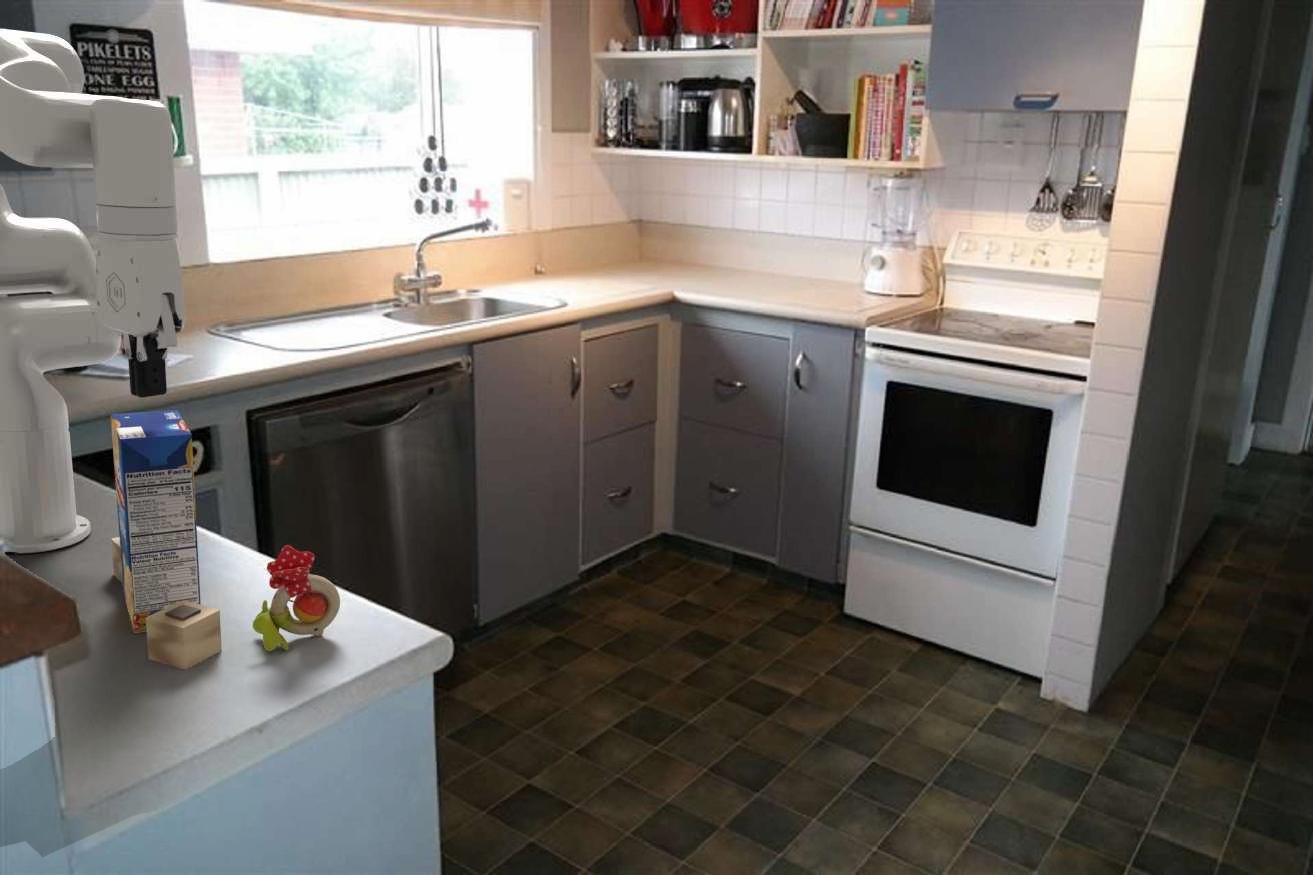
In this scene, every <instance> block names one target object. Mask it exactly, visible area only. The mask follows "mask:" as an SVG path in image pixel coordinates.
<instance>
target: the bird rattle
mask: <svg viewBox="0 0 1313 875" xmlns="http://www.w3.org/2000/svg"><path fill="white" fill-rule="evenodd" d="M315 557H316V556H315V554H314V553H313V552H311V551H299V550H297V549H295V548H294V547H292V546H291V545H289V544H286V545H284V547H282V549H281V551H280V553H279V555H278V557H277V559H275V560H272V561H269V562H268V563H267V566H266V571H267V573H268V574H269V575H270V578H269V582H268V584H269V587H270V588H271V589H274V590H276V591H275V593H274V594H273V597H272V600H271V604H270V608H268V601H267V599H264V600H263V602H262V604H261V605H262V606H261V611H260V612H259V613H258V614H257V615H256V617H254V618H255V619H254V620H253V621H252V629H253V630H254V632H256V633H258V634H261V635H262V642H263V647H264V649H265V650H266V651H268V652H270V651H271V652H272V651H273V650H275V649H276V648H277V647H278V645H279V646H280V647H281V648H282V649H283V650H284V651H286V652H288V651H289V649H290V645H289V643H288V642H287V640H286V639H285V637H284V636H283V635H282V634H281V633H280V629H281V630H283V631H285V632H288V633H289V634H293V635H298V636H306V635H307V636H308V635H311V636H315V637H321V636H322V635H323V634H324V630H325V629H326V628H327V627H329V626H330V625H331V624H332V623H333V621H334V620H335V618H336V617H337V615H338V613H339V610H340V606H341V599H340V598H341V597H340V594H339V591H338V589H337V587H336V586H335V585H334V584H333V583H332V582H331V580H328V579H327V578H326V577H323V576H320V575H316V574H310V572H311V569H312V567H313V563H314V561H315ZM293 598H295V599H294V600H292V599H293ZM289 602H290V603H292V612H293V614H294V616H295V618H294V617H293V615H292V614H291V611H290V608H289V606H288V605H287V604H288V603H289Z"/></svg>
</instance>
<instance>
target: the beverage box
mask: <svg viewBox="0 0 1313 875" xmlns="http://www.w3.org/2000/svg"><path fill="white" fill-rule="evenodd" d="M110 424H111V437H112V439H111V441H112V451H113V452H112V453H113V464H114V466H113V467H114V477H115V478H114V480H115V492H116V493H115V494H116V506H117V509H116V510H117V520H118V534H119V536H118V537H120V549H121V563H122V577H123V584H122V587H123V596H124V602H125V604H127V605H126V607H127V611H128V615H130V616H129V619H130V622H132V623H131V626H132V630H133V632H139V633H144V632H143V631H145V632H147V631H146V630H147V628H146V617H148V616H150V615H152V614H154V613H156V612H159V611H161V610H163V609H165V608H167V607H169V606H172V605H174V604H176V603H178V602H180V601H182V600H185V601H189V602H192V603H196V604H200V605H202V604H201V587H200V570H199V569H200V566H199V549H198V548H199V547H198V546H199V545H198V533H197V531H198V530H197V528H198V527H197V512H196V510H197V509H196V508H197V507H196V494H195V493H196V492H195V474H194V472H195V471H194V453H193V452H194V451H193V435H192V432H191V430H190V429H189V428H188V426H187V424H186V423H185V421H184V419H183V417H182V416H181V415H180V413H179V411H178V409H172V410H170V409H169V410H158V411H157V410H155V411H154V410H153V411H141V412H139V411H138V412H126V413H110Z"/></svg>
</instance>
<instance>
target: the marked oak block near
mask: <svg viewBox="0 0 1313 875" xmlns="http://www.w3.org/2000/svg"><path fill="white" fill-rule="evenodd" d="M146 628H147V631H146V638H147V639H146V640H147V641H146V642H147V655H148V660H151V661H154V660H155V661H154V662H157V661H158V663H160V662H162V663H161V664H164V663H166V664H165V665H167V666H170V665H171V667H174V666H175V668H177V667H179V668H178V669H180V668H181V670H183V669H187V670H189V669H190V668H192V667H194V666H196V665H197V663H198V662H200V661H201V662H203V661H205V660H207V659H209V658H210V656H211V657H212V655H213V654H214V655H216V654H218V653H220V652H222V632H221V631H222V630H221V611H220V609H218V608H214V607H211V606H207V605H203V604H201V605H200V604H196V603H192V602H189V601H185V600H182V601H180V602H178V603H176V604H174V605H172V606H169V607H167V608H165V609H163V610H161V611H159V612H156V613H154V614H152V615H150V616H148V617H146ZM214 655H213V656H214ZM208 657H209V658H208ZM206 658H207V659H206ZM201 662H200V663H201ZM198 664H199V663H198ZM193 665H194V666H193ZM188 668H189V669H188Z"/></svg>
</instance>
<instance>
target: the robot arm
mask: <svg viewBox="0 0 1313 875" xmlns="http://www.w3.org/2000/svg"><path fill="white" fill-rule="evenodd" d="M84 72H85V71H84V67H83V63H82V61H81V58H80V57H79V54H78V53H77V51H76V50H75V49H74V47H73V46H71V44H69V43H68V42H67V41H66V40H64V39H62V38H61V37H58V36H55V35H52V34H51V33H50V34H49V33H42V32H33V31H25V30H17V29H16V30H15V29H10V28H9V29H7V28H0V152H1V153H3V154H4V155H6V156H7V157H9V158H10V159H12V160H14V161H16V162H18V163H21V164H23V165H27V166H31V167H38V168H70V169H71V168H74V169H75V168H79V169H80V168H83V169H92V170H93V183H94V184H93V185H94V193H95V194H94V195H95V208H96V210H95V211H96V222H97V236H98V240H97V246H96V247H97V248H96V256H95V253H94V251H93V248H92V246H91V244H90V242H89V239H88V238H87V236H86V235H85V234H84V232H83V230H81V229H80V228H79V227H78V226H77V225H76V224H75V223H72V222H71V221H69V220H67V219H63V218H59V217H22V216H19V215H17V214H16V213H14V211H13V210H12V207H11V205H10V203H9V200H8V197H7V193H6V191H5V188H4V187H3V186H2V184H1V183H0V295H6V294H7V295H9V296H2V297H0V535H3V536H4V537H5V539H7V540H8V541H10V542H11V543H13V545H14V546H15V551H16V552H17V553H16V554H34V553H42V552H48V551H54V550H58V549H62V548H66V547H68V546H72V545H75V544H77V543H79V542H81V541H83V540H85V539H86V537H88V536H89V535H90V533H91V531H92V530H91V529H92V528H91V527H92V526H91V522H90V521H89V519H87V518H86V517H84V516H82V515H79V514H77V508H76V496H75V495H76V494H75V483H74V470H73V460H72V459H73V458H72V448H71V446H72V445H71V435H70V434H71V433H70V425H69V424H70V423H69V414H68V406H67V403H66V400H65V399H64V397H63V396H62V394H61V393H60V392H59V391H58V390H57V389H56V388H55V387H54V386H53V385H52V384H50V382H49V381H48V380H47V379H46V378H45V376H44V373H45V372H48V371H55V370H60V369H68V368H75V367H85V366H92V365H98V364H103V363H106V362H108V361H110V360H112V359H113V358H114V357H116V356H117V354H118V352H119V350H120V348H121V344H122V340H123V344H124V351H125V356H126V357H127V359H128V360H127V362H128V373H129V374H128V375H129V387H130V388H129V390H130V394H131V395H132V396H135V397H138V398H141V399H142V398H150V397H155V396H161V395H165V394H167V393H168V392H167V391H168V387H167V371H166V370H167V369H166V359H167V358H168V348H175V347H177V345H178V339H177V333H181V332H182V331H183V330H184V328H185V321H186V320H185V319H186V311H185V310H186V307H185V295H184V294H185V293H184V285H183V276H182V268H181V261H180V255H179V250H178V249H179V248H178V245H177V241H176V239H178V238H179V233H178V232H179V231H178V218H177V216H178V215H177V197H176V196H177V195H176V179H175V178H176V176H175V160H174V145H173V143H174V142H173V140H174V139H173V126H172V125H173V124H172V116H171V113H170V111H169V109H168V108H167V106H165V105H164V104H163V103H160V102H159V101H153V100H146V99H135V98H125V97H120V96H109V95H97V94H89V93H83V90H84V84H85V73H84ZM41 292H49V294H48V293H47V294H46V293H45V294H41ZM24 293H39V294H28V295H26V294H25V295H14V296H13V294H24ZM10 295H11V296H10Z"/></svg>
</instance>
